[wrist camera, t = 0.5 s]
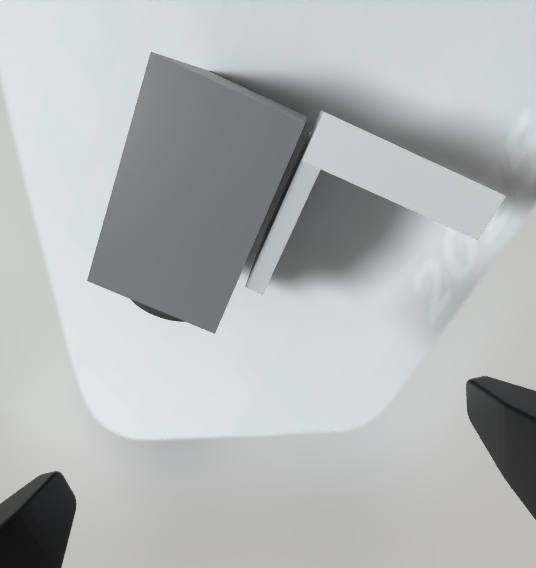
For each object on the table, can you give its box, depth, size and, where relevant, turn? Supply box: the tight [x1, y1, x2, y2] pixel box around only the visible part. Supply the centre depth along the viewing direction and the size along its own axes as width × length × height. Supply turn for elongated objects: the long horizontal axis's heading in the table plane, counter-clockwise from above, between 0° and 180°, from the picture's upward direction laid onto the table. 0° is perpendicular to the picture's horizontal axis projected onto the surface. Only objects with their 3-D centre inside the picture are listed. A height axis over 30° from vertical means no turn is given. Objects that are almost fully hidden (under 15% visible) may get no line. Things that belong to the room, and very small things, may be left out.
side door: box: [245, 110, 506, 294], centre depth 17 cm, size 6×6×7 cm
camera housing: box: [87, 52, 307, 334], centre depth 19 cm, size 9×5×8 cm, turn 157°
